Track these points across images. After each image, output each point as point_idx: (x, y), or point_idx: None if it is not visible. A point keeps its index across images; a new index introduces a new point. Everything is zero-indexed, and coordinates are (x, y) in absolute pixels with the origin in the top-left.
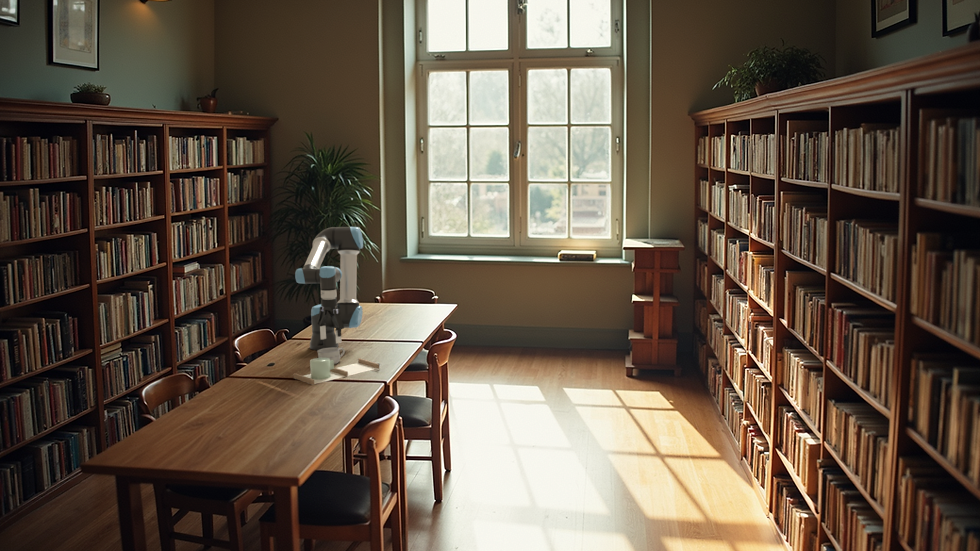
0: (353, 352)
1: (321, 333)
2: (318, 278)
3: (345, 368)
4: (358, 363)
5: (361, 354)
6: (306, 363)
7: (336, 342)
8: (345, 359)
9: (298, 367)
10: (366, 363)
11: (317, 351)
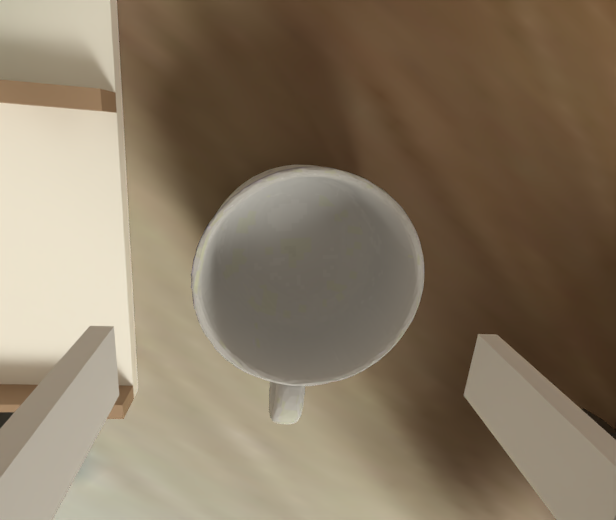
0: (421, 507)
1: (527, 388)
2: None
3: (44, 227)
4: None
5: (343, 512)
6: (484, 160)
7: (94, 333)
8: (329, 396)
9: (449, 34)
10: (14, 392)
11: (375, 185)
